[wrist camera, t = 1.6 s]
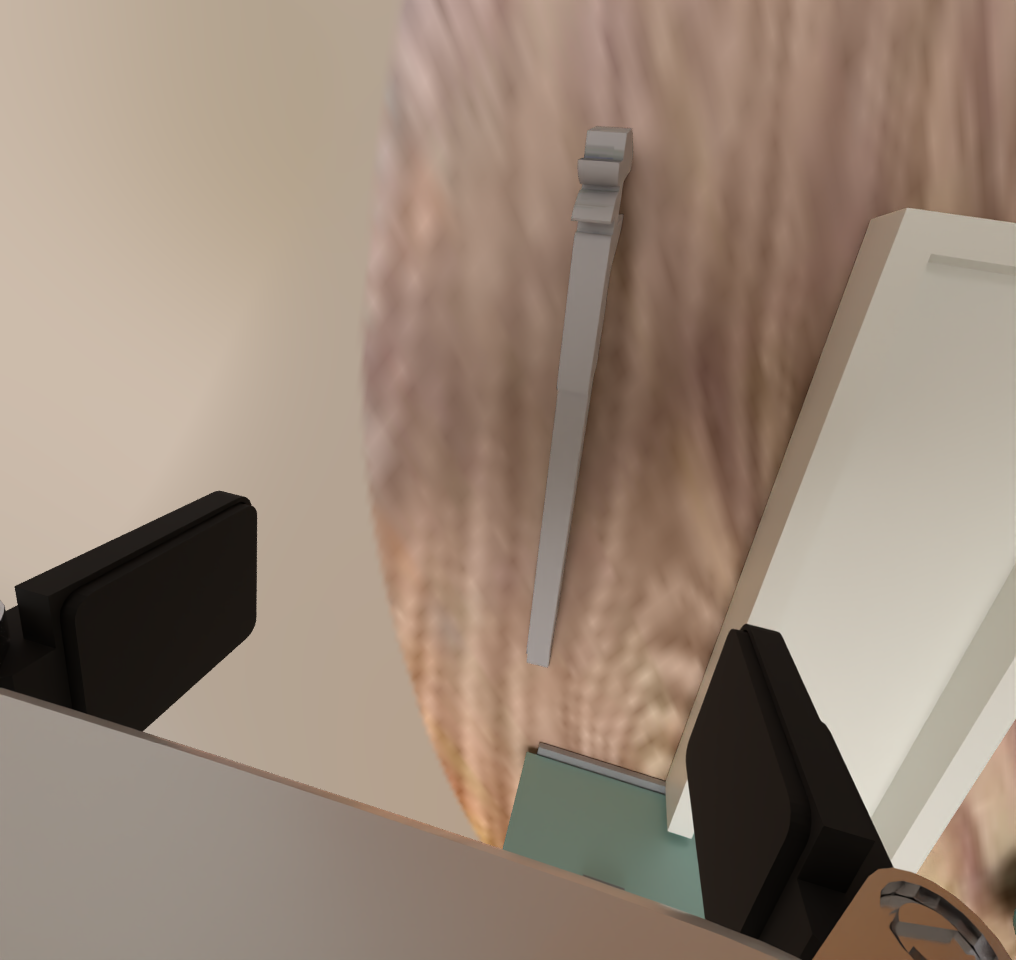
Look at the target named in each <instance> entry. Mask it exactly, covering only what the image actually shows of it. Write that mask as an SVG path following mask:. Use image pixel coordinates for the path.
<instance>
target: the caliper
mask: <svg viewBox="0 0 1016 960" xmlns="http://www.w3.org/2000/svg"><path fill="white" fill-rule="evenodd" d="M632 159H633V133H632V129H631V128H616V127H601V126H596V127H594V128H592V129H590V130H588V131H587V138H586V146H585V154H584V158H581V159H578V177H579V181H580V184H582V189H581V190H580V191H579V193H578V196H577V199H576V202H575V206H574V209H573V213H572V217H571V221H578V227H577V232H576V233H575V237H574V244H573V252H572V261H571V269H570V278H569V287H568V295H567V304H566V312H565V321H564V329H563V338H562V346H561V355H560V364H559V372H558V381H557V389H558V394H557V403H556V411H555V419H554V428H553V436H552V444H551V453H550V461H549V469H548V477H547V486H546V494H545V502H544V511H543V519H542V527H541V536H540V544H539V552H538V560H537V569H536V577H535V585H534V594H533V602H532V611H531V619H530V627H529V636H528V644H527V652H526V653H527V654H528V655H527V663H530V664H535V665H539V666H543V667H547V668H548V666H549V661H550V655H551V648H552V642H553V637H554V631H555V625H556V619H557V613H558V606H559V600H560V593H561V587H562V580H563V574H564V567H565V561H566V554H567V548H568V541H569V535H570V528H571V522H572V515H573V508H574V502H575V495H576V489H577V482H578V476H579V469H580V463H581V456H582V450H583V443H584V437H585V430H586V424H587V417H588V411H589V404H590V398H591V391H592V385H593V378H594V374H595V370H596V366H597V361H598V354H599V347H600V340H601V334H602V328H603V322H604V315H605V307H606V300H607V291H608V285H609V278H610V272H611V267H612V263H613V259H614V255H615V251H616V248H617V244H618V240H619V236H620V232H621V227H622V221H623V215H624V214H619V209H620V202H621V196H622V189H623V182H624V180H625V178H626V177H627V175H628V174H629V172H630V171H631V166H632Z"/></svg>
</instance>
